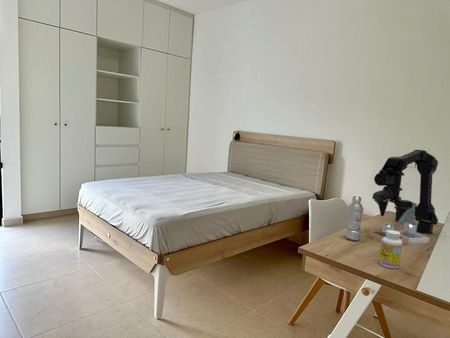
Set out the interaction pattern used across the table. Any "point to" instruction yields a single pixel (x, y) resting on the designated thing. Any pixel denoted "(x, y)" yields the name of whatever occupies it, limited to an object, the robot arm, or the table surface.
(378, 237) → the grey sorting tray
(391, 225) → the steel billet
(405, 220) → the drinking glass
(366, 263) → the table surface
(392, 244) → the supplement bottle
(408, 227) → the billet
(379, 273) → the table surface
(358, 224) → the plastic bottle
